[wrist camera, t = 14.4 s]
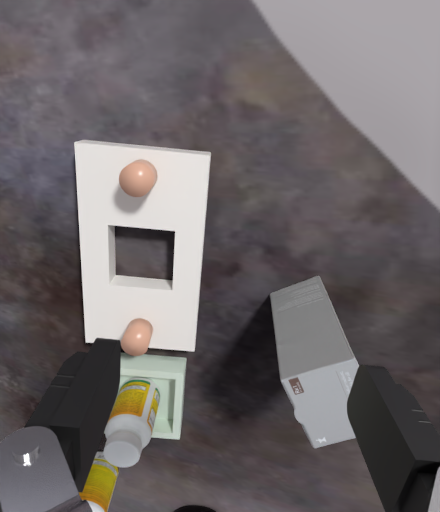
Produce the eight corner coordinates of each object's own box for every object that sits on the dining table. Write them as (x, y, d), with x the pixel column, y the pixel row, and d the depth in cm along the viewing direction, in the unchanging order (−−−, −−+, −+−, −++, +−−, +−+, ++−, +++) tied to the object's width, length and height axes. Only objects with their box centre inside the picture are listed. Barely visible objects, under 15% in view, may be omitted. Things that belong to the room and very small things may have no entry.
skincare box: (340, 326, 46) (395, 432, 31) (286, 346, 47) (314, 456, 32) (318, 270, 43) (367, 357, 28) (261, 292, 44) (279, 387, 29)
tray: (103, 415, 52) (96, 433, 49) (101, 350, 47) (93, 366, 45) (182, 421, 52) (179, 439, 49) (186, 357, 48) (184, 373, 45)
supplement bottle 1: (87, 445, 54) (58, 517, 44) (124, 454, 54) (103, 528, 45) (80, 470, 56) (50, 544, 46) (115, 479, 56) (93, 554, 47)
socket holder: (92, 330, 46) (76, 358, 41) (83, 139, 37) (61, 145, 32) (195, 339, 46) (192, 368, 41) (211, 152, 38) (208, 159, 33)
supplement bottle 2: (169, 392, 49) (156, 456, 40) (142, 413, 50) (124, 479, 41) (139, 368, 47) (119, 429, 38) (112, 390, 49) (86, 453, 40)
